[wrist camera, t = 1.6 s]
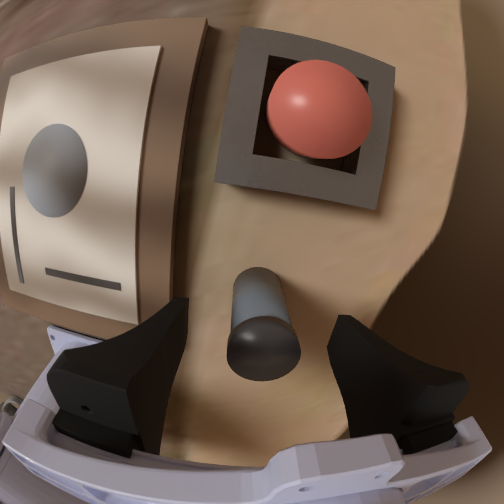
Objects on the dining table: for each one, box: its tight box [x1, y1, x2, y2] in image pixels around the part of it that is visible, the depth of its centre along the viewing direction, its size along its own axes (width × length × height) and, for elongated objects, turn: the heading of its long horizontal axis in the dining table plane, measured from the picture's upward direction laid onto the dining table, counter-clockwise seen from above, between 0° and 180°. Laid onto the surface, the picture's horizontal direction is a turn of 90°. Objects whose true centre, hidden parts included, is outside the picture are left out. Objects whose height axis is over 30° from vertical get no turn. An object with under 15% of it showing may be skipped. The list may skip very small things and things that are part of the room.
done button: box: [266, 60, 372, 159], centre depth 10 cm, size 4×4×2 cm
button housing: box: [214, 26, 395, 211], centre depth 12 cm, size 8×8×2 cm
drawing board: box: [0, 17, 208, 339], centre depth 13 cm, size 20×16×1 cm
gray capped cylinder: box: [227, 267, 301, 381], centre depth 13 cm, size 3×3×6 cm
